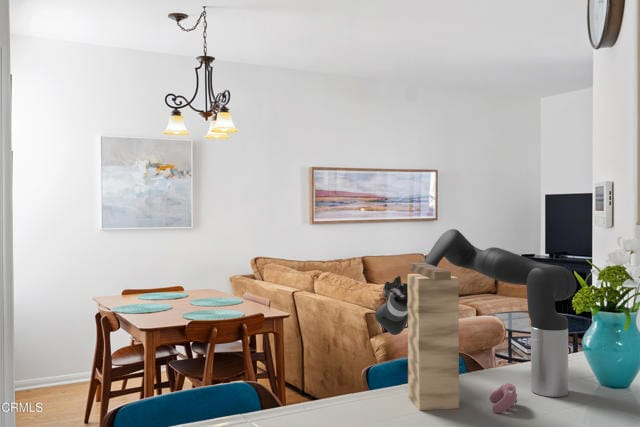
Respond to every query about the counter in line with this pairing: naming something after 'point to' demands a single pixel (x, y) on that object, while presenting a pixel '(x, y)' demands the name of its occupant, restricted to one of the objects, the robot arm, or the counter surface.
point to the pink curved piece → (504, 398)
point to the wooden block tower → (433, 342)
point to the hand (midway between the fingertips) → (414, 278)
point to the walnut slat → (430, 271)
